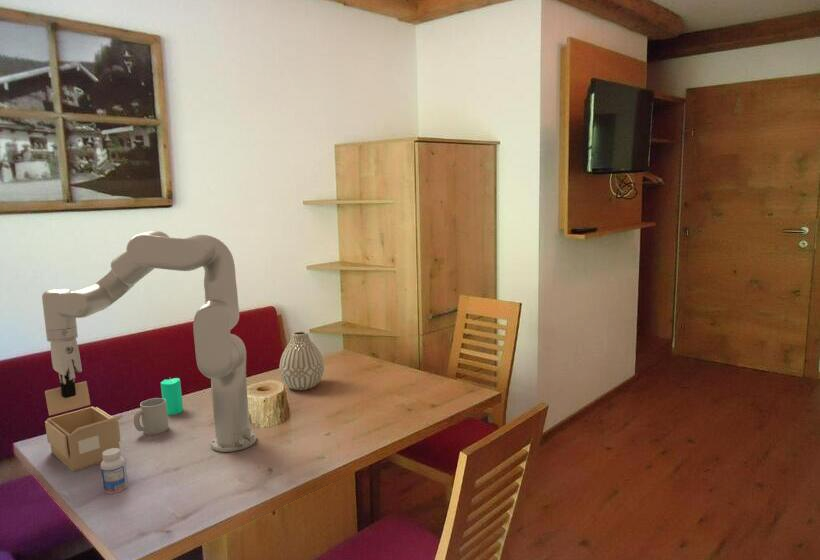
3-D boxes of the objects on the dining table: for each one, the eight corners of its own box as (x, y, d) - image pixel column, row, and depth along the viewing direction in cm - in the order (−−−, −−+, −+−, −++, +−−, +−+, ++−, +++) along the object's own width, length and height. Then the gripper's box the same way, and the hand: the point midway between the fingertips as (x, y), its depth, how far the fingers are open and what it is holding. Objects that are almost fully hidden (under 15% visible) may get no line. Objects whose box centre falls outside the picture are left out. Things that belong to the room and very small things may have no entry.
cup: (173, 428, 185) (170, 401, 184) (141, 440, 178) (138, 411, 176) (160, 423, 190) (157, 396, 188) (129, 434, 182) (126, 406, 181)
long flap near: (114, 422, 165) (122, 416, 160) (71, 435, 157) (78, 429, 153) (114, 420, 165) (122, 415, 160) (71, 433, 158) (78, 427, 153)
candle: (186, 408, 202) (182, 373, 200) (177, 414, 196) (174, 379, 194) (169, 407, 203) (165, 373, 201) (160, 414, 197) (156, 379, 195)
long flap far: (90, 404, 177) (86, 381, 177) (49, 415, 170) (45, 391, 169) (90, 404, 178) (85, 381, 177) (49, 415, 170) (44, 391, 170)
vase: (321, 393, 212) (318, 338, 209) (276, 394, 212) (272, 339, 209) (328, 378, 228) (325, 326, 224) (286, 379, 228) (282, 328, 225)
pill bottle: (109, 483, 152) (104, 447, 150) (131, 482, 152) (127, 445, 151) (99, 494, 147) (95, 457, 145) (123, 493, 147) (118, 455, 145)
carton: (123, 455, 168) (119, 420, 166) (70, 473, 158) (65, 437, 157) (99, 437, 181) (95, 405, 179) (48, 453, 171) (43, 419, 169)
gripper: (86, 335, 167) (92, 398, 170) (67, 326, 177) (74, 387, 180) (55, 340, 161) (63, 406, 164) (38, 331, 172) (45, 393, 175)
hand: (69, 396), depth 172 cm, fingers closed
